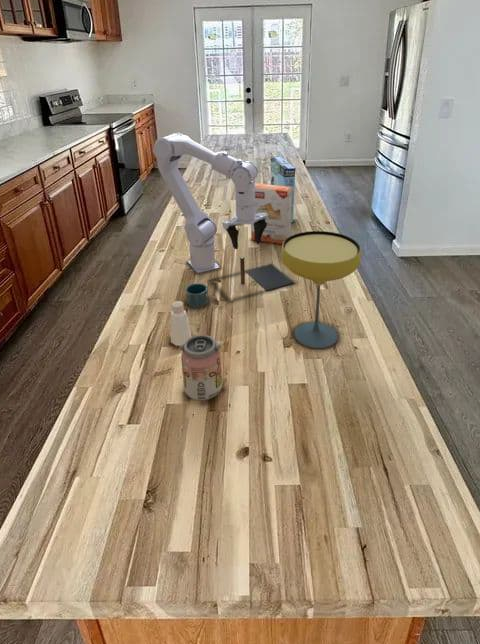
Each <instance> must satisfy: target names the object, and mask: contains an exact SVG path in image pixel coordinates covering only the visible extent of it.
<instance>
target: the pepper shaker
mask: <svg viewBox="0 0 480 644" xmlns="http://www.w3.org/2000/svg"><path fill="white" fill-rule="evenodd" d="M171 307H172V308H171V309H172V311H171V313H170V343H171V344H173V345H174V346H176V347H177V346H180V345H181V344H184V343H185V341H186V340H187V339H189V338H190V337H192V332H191V328H190V322H189V319H188V314H187V311H186V310H185V309H184V302H183V301H181V300H176V301H173V302H172V303H171Z"/></svg>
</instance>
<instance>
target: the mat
mask: <svg viewBox="0 0 480 644" xmlns="http://www.w3.org/2000/svg"><path fill="white" fill-rule="evenodd" d="M245 274H247V275H248V276H249V277H250V278H251V279H252V280H253V281H255V283H257V284H258V285H259V286H260V287H261V288H262V289H263V290H264V291H265V292H268V291H269V292H270V291H272V290H276V289H281V288H282V287H287V286H290V285H294V281H292V279H290V278H289V277H287V276H286V274H284V273H283V272H282V271H280V270H279V269H278V268H276V266H274V265H273V264H267V265H263V266H259V267H255V268H251V269H247V270H245Z"/></svg>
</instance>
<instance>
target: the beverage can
mask: <svg viewBox="0 0 480 644" xmlns="http://www.w3.org/2000/svg"><path fill="white" fill-rule="evenodd" d="M191 336H192V335H191ZM221 346H222V344H221V343H220V342H216V340H215V339H214V338H213V337H212V336H210V335H207V334H196V335H193V336H192V337H190V338H189V339H187V340H186V341H185V343H184V344H181V345H179V349H180V351H182V352H181V353H180V361H181V370H182V379H183V390H184V392H185V394H186V395H187V396H188V397H189V398H190V399H192V400H195V401H200V402H204V401H205V402H206V401H209V400H212V399H213V398H215V397H217V395H218V394H219V393H220V392H221V390H222V387H223V379H222V377H223V376H222V362H221V361H222V360H221V350H220V349H221Z"/></svg>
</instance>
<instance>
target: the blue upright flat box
mask: <svg viewBox="0 0 480 644" xmlns="http://www.w3.org/2000/svg"><path fill="white" fill-rule="evenodd" d="M269 176H270V179H269V180H270V181H269V182H270V183H269V185H277V186H287V187H292V205H291V223H294V211H295V209H294V207H295V206H294V205H295V187H296V186H295V185H296V167H295V166H294V165H292V164H290V163H289V162H288V161H287V160H286V159H284V158H283V157H282V156H272V157H270V175H269Z"/></svg>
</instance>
